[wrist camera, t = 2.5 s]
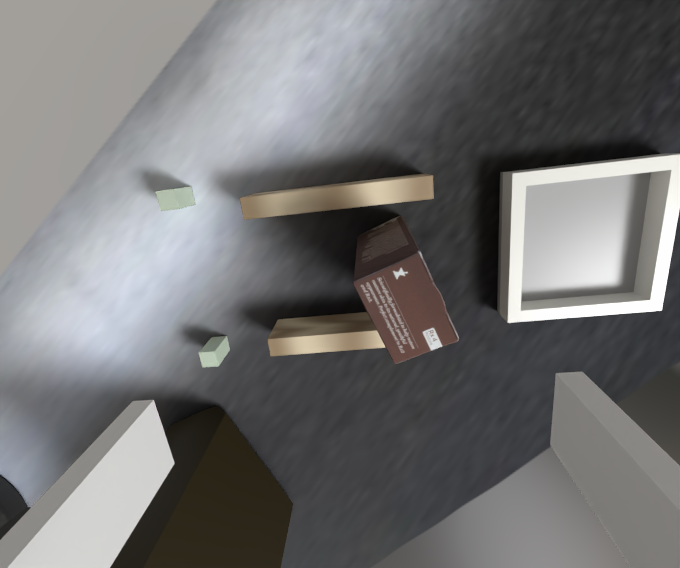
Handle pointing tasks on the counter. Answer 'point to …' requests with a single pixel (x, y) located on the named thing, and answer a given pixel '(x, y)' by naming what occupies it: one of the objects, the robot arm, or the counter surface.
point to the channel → (336, 328)
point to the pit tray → (587, 238)
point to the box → (400, 292)
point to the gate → (215, 346)
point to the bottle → (211, 504)
